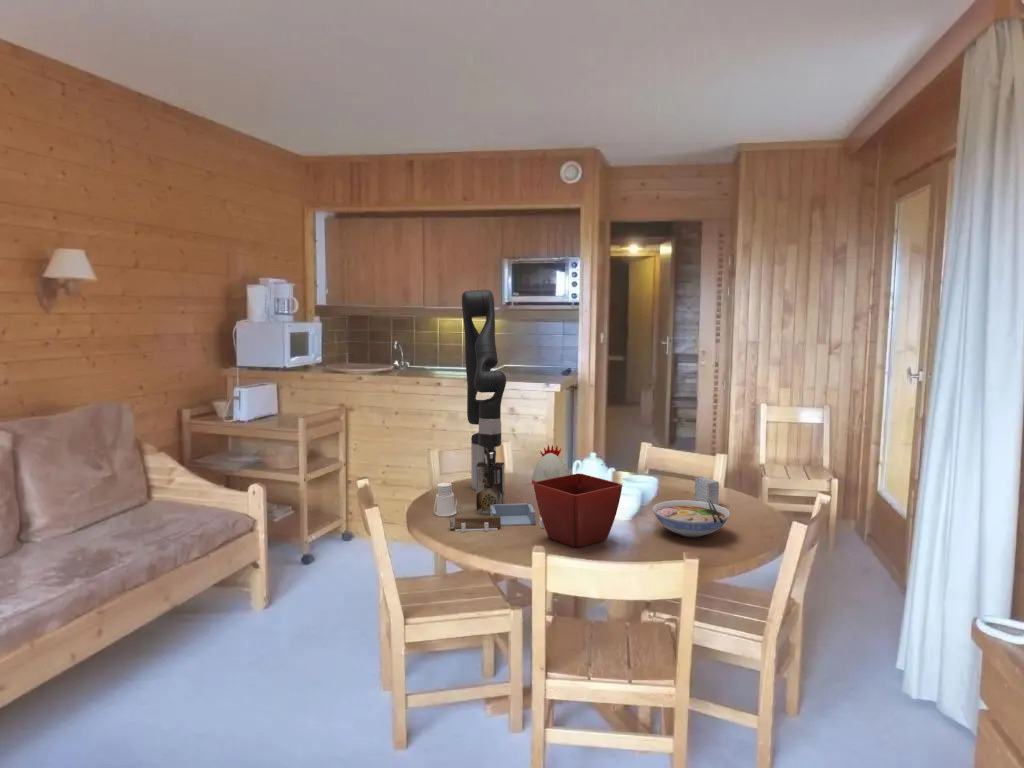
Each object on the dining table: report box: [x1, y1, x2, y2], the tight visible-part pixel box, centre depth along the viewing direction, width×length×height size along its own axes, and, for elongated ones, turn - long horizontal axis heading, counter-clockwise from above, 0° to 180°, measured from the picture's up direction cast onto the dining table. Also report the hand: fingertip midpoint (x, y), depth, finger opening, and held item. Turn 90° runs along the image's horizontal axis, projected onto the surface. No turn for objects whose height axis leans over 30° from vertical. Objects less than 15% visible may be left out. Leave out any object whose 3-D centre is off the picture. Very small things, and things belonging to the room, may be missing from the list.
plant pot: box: [533, 473, 623, 548], centre depth 216 cm, size 19×19×17 cm
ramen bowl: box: [652, 499, 731, 538], centre depth 221 cm, size 25×23×8 cm
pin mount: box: [454, 516, 545, 533], centre depth 227 cm, size 6×28×2 cm, turn 96°
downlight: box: [433, 482, 458, 517], centre depth 242 cm, size 8×7×10 cm
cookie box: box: [475, 461, 506, 515], centre depth 244 cm, size 9×6×16 cm
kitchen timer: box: [531, 444, 568, 486], centre depth 282 cm, size 14×14×15 cm
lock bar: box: [449, 515, 502, 530], centre depth 226 cm, size 3×16×3 cm, turn 96°
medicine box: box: [694, 476, 720, 505], centre depth 254 cm, size 8×4×9 cm, turn 22°
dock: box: [489, 502, 536, 527], centre depth 234 cm, size 10×13×4 cm
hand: (489, 479), depth 243 cm, fingers open, 8 cm apart
